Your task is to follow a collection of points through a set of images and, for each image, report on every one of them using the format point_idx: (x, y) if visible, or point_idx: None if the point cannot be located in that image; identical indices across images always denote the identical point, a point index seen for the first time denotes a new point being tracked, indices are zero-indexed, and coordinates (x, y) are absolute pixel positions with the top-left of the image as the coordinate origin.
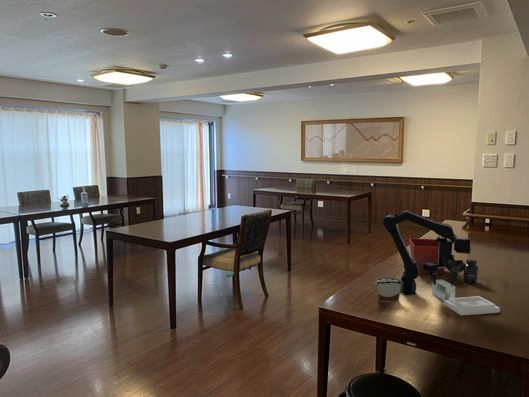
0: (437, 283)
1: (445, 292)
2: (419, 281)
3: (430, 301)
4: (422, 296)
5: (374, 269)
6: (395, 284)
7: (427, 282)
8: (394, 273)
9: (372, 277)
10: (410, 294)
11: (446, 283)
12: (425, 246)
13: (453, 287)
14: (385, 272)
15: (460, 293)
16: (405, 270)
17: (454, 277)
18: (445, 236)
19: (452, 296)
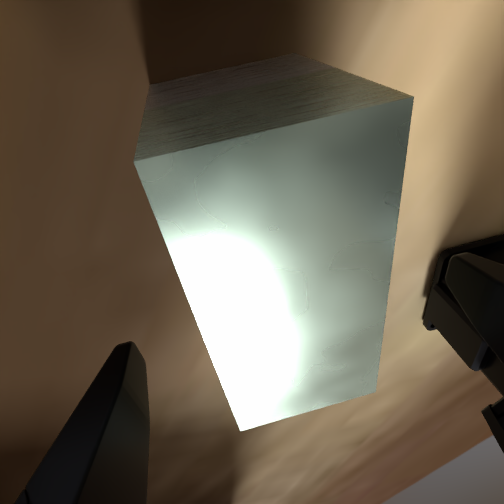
0: (379, 313)
1: (347, 74)
2: (273, 442)
3: (452, 67)
4: (428, 209)
5: (397, 492)
6: None
7: (230, 442)
8: (342, 484)
9: (475, 429)
10: (500, 235)
11: (257, 316)
12: None
13: (190, 140)
14: (374, 482)
15: (21, 317)
16: None
17: (82, 474)
18: None
19: (190, 91)
